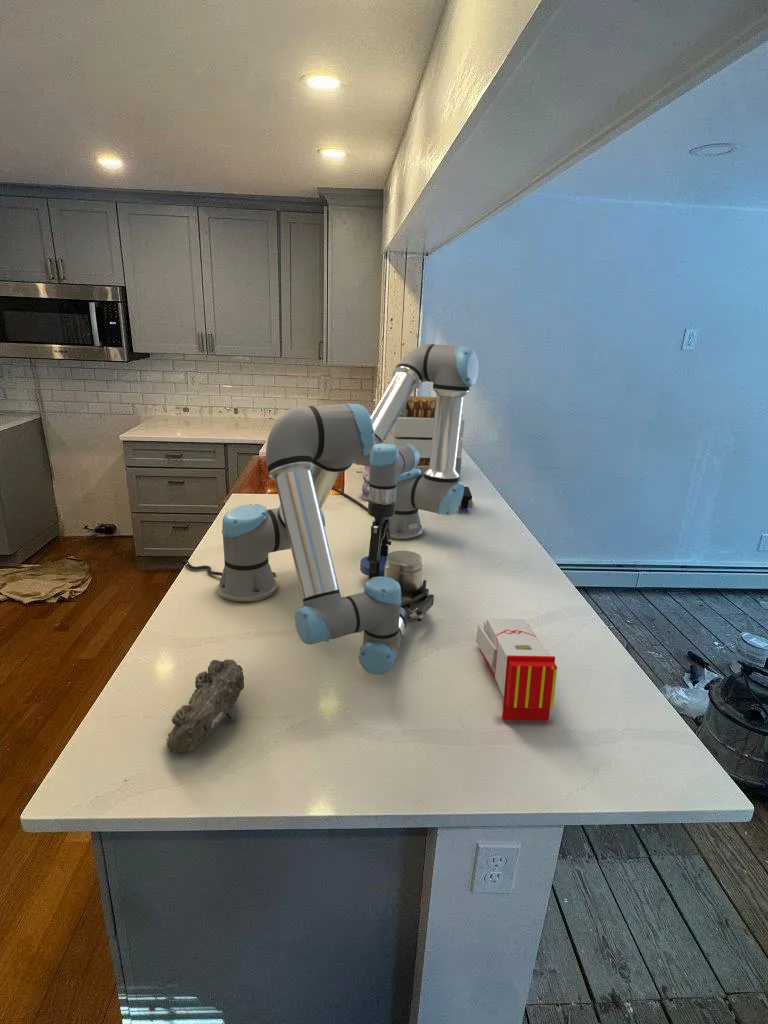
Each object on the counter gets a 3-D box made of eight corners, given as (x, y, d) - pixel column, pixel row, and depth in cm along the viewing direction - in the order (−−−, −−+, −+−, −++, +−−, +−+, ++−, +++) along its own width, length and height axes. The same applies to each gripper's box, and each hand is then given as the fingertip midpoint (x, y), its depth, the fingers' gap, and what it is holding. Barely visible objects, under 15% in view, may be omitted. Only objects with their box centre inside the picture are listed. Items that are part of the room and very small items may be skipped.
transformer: (382, 463, 289) (386, 382, 275) (445, 464, 293) (451, 384, 279) (390, 482, 257) (394, 392, 243) (460, 483, 261) (468, 394, 247)
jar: (421, 621, 145) (425, 566, 139) (383, 620, 144) (386, 565, 139) (417, 602, 154) (421, 550, 149) (381, 601, 153) (384, 549, 148)
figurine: (366, 502, 230) (367, 466, 225) (355, 494, 239) (356, 460, 234) (386, 499, 235) (388, 464, 229) (375, 492, 243) (377, 458, 238)
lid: (363, 560, 168) (363, 553, 168) (398, 564, 167) (399, 556, 166) (356, 575, 158) (357, 567, 158) (394, 579, 157) (394, 572, 156)
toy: (523, 604, 135) (566, 662, 106) (518, 656, 138) (559, 727, 109) (472, 603, 135) (501, 661, 105) (468, 655, 138) (496, 726, 108)
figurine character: (472, 517, 222) (467, 501, 236) (475, 500, 219) (469, 484, 233) (455, 517, 222) (451, 500, 236) (457, 499, 219) (452, 484, 232)
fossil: (192, 660, 117) (244, 628, 112) (224, 691, 120) (276, 661, 115) (142, 746, 98) (202, 712, 93) (182, 779, 101) (242, 748, 96)
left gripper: (341, 631, 133) (363, 589, 154) (436, 646, 130) (446, 600, 150) (342, 603, 131) (364, 564, 151) (439, 617, 127) (448, 574, 148)
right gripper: (378, 487, 167) (374, 556, 174) (358, 512, 146) (355, 589, 153) (403, 490, 166) (398, 559, 173) (386, 515, 144) (382, 593, 152)
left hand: (405, 582), depth 151 cm, fingers closed on jar, 10 cm apart
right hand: (378, 573), depth 163 cm, fingers closed on lid, 10 cm apart
